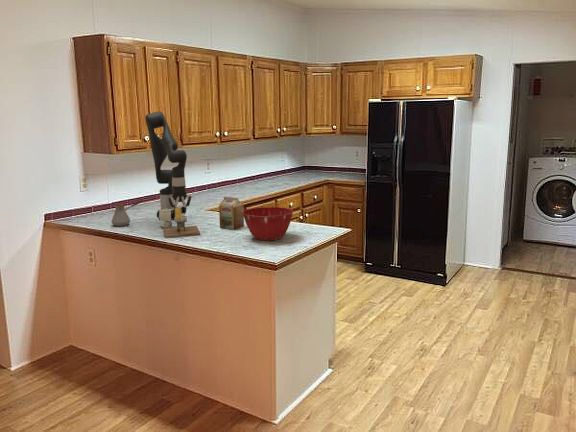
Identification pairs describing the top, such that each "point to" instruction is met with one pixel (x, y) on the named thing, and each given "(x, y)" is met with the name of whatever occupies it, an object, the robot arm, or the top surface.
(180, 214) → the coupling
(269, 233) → the mixing bowl
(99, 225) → the top surface
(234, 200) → the milk carton
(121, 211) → the coffee pot
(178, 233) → the board
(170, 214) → the pneumatic valve
